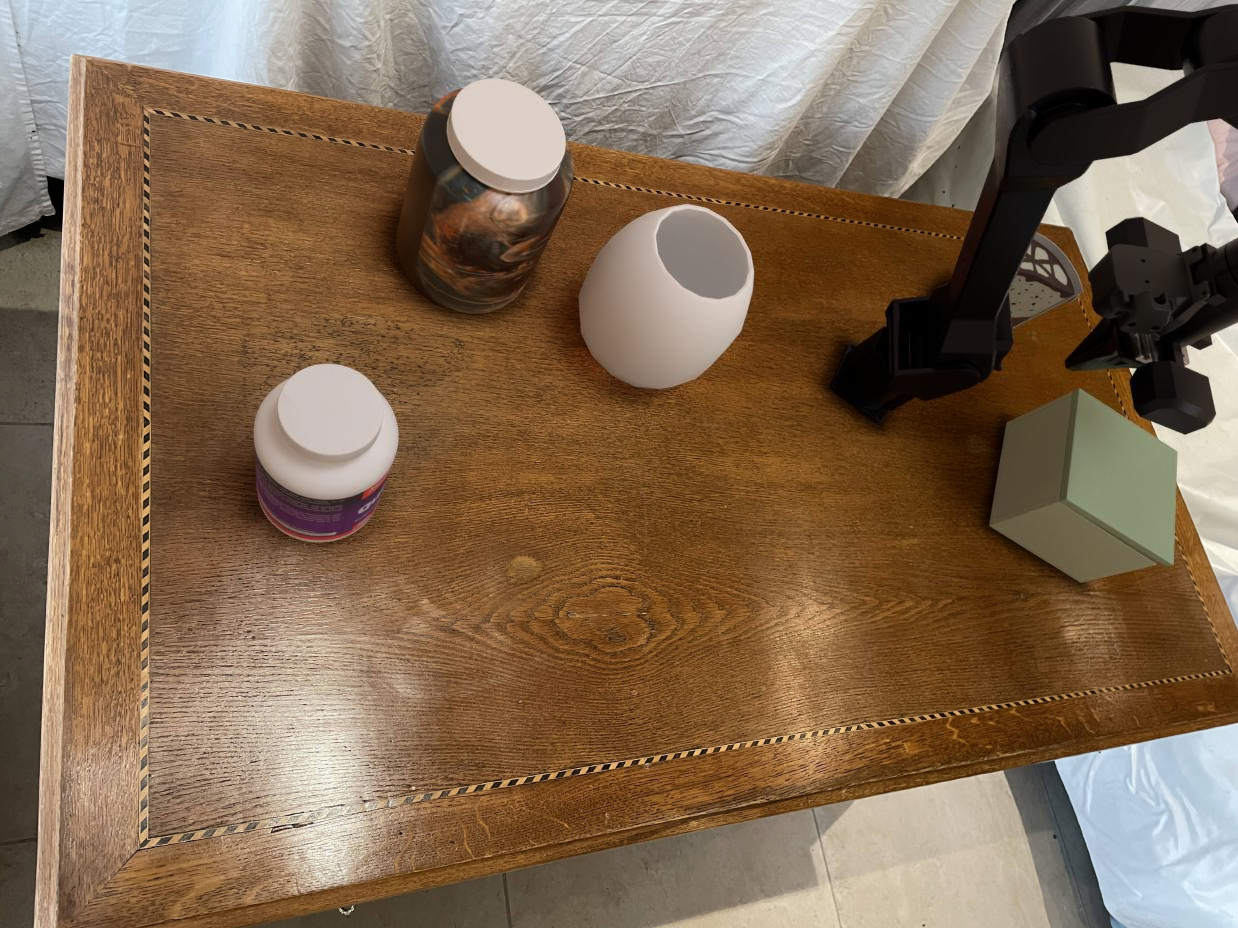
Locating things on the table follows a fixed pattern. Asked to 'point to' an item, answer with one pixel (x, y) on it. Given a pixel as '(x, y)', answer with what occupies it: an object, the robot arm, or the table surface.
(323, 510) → the pill bottle
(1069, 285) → the food container
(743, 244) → the cup
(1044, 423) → the chest
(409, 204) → the jar
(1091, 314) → the table surface
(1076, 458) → the lid
